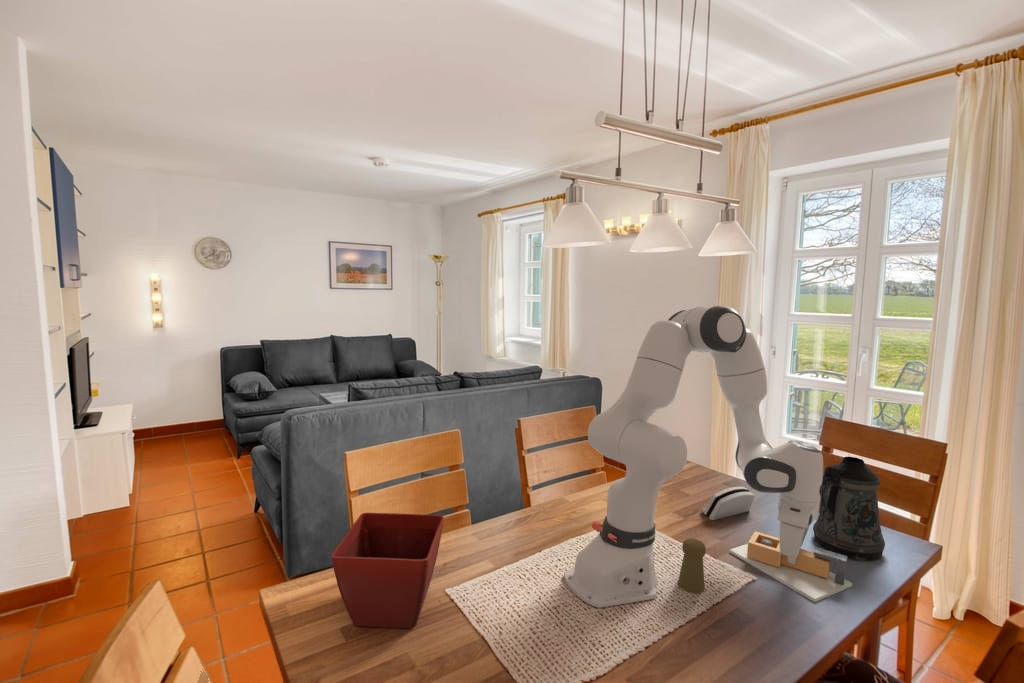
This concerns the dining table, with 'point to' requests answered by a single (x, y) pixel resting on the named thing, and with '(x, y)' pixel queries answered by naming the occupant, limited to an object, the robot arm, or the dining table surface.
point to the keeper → (837, 558)
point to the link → (775, 558)
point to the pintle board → (795, 576)
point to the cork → (692, 566)
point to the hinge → (729, 503)
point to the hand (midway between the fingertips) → (793, 558)
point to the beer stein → (850, 511)
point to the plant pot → (387, 567)
